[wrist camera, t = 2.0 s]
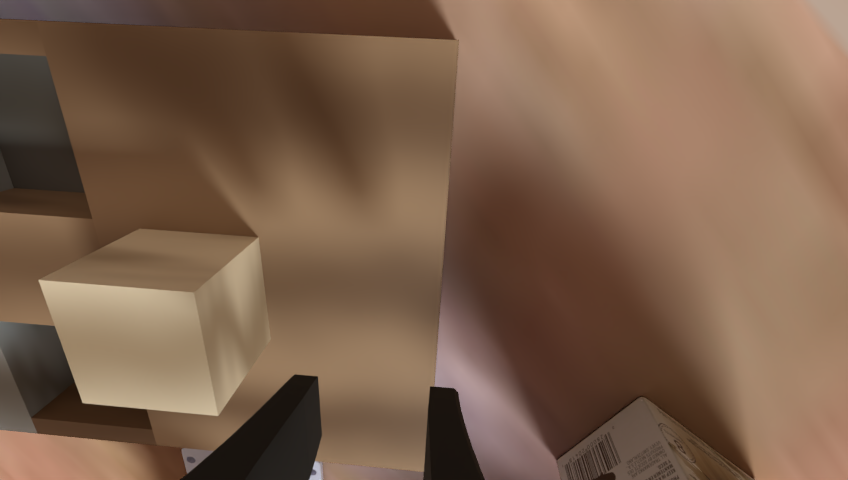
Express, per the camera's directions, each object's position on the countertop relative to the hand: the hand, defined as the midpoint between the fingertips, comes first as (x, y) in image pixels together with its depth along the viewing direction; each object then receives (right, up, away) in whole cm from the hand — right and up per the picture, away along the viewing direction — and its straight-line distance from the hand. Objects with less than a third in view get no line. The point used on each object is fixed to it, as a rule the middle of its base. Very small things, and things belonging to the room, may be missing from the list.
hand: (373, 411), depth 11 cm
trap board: (-13, +4, +8) cm, 16 cm away
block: (-7, +3, +5) cm, 9 cm away
